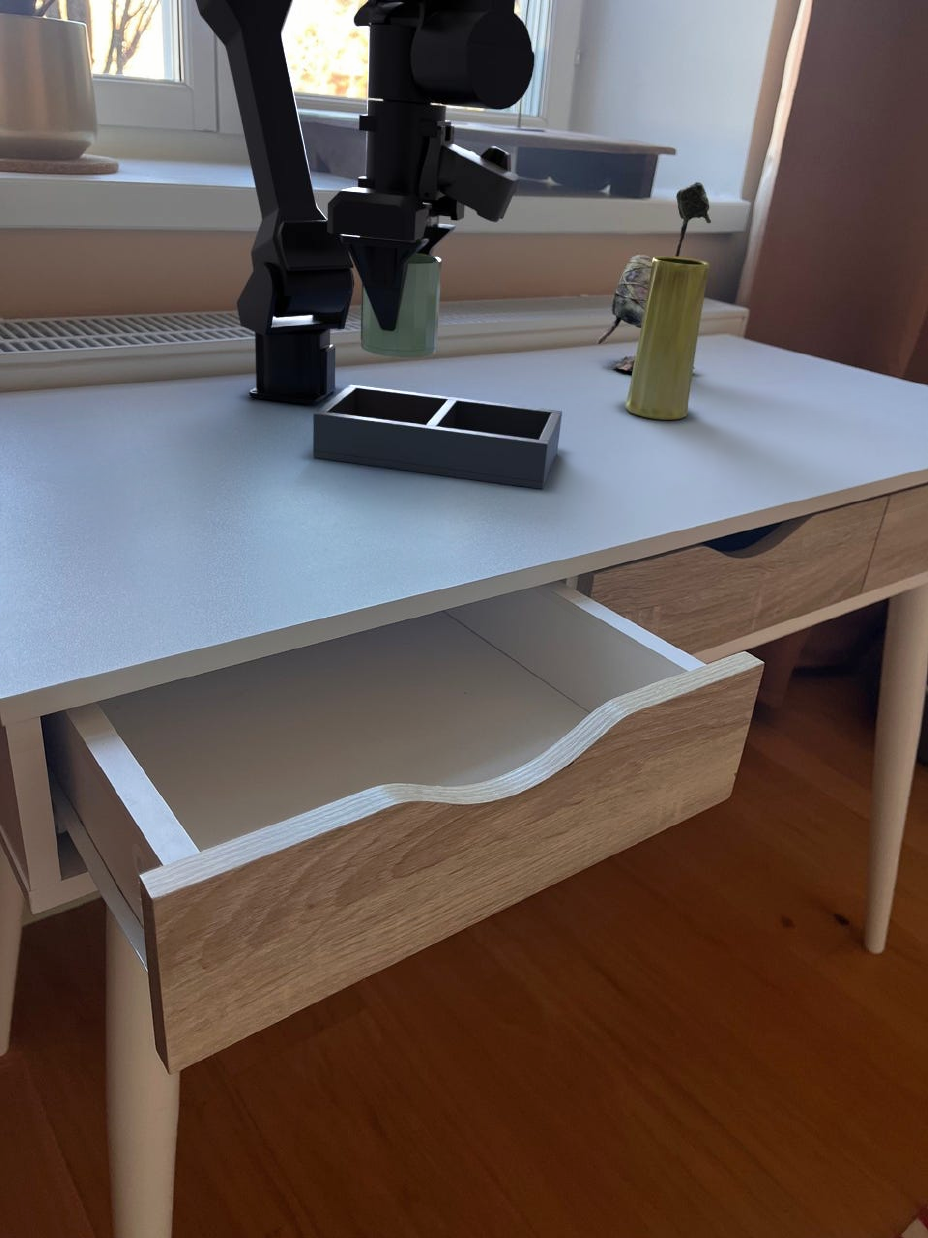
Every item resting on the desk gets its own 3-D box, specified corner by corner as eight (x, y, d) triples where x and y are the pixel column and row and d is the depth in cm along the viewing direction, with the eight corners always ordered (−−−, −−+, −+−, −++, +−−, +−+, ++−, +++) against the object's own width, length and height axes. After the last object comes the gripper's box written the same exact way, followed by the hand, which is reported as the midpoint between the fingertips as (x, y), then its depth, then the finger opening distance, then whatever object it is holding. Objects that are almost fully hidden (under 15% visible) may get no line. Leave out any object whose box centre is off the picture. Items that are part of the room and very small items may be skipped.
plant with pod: (618, 354, 121) (643, 174, 112) (703, 374, 115) (738, 185, 106) (582, 364, 115) (606, 174, 106) (670, 385, 109) (704, 186, 100)
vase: (686, 423, 96) (715, 267, 89) (623, 415, 97) (646, 260, 90) (687, 407, 101) (713, 259, 94) (626, 400, 102) (648, 252, 95)
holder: (542, 489, 76) (547, 443, 75) (313, 457, 79) (313, 413, 77) (557, 452, 85) (562, 411, 83) (349, 425, 88) (350, 384, 86)
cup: (351, 352, 78) (353, 257, 75) (372, 337, 83) (375, 248, 80) (426, 360, 77) (431, 265, 74) (442, 345, 82) (448, 256, 79)
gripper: (495, 110, 63) (476, 359, 70) (533, 111, 79) (515, 313, 86) (325, 96, 64) (324, 341, 72) (397, 100, 81) (390, 300, 88)
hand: (398, 322), depth 79 cm, fingers closed on cup, 6 cm apart
